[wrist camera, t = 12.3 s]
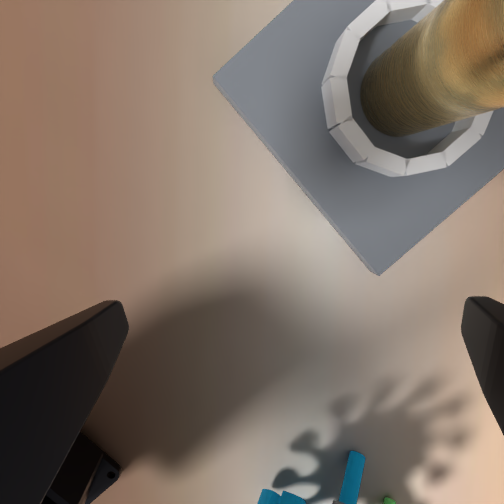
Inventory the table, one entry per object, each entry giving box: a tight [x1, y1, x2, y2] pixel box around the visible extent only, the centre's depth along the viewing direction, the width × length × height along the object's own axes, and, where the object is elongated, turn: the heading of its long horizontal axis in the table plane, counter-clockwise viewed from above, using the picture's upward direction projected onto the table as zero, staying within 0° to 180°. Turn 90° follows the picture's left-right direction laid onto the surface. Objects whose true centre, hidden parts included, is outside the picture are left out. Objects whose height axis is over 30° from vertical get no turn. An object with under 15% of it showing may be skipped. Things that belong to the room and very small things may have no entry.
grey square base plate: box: [213, 0, 504, 276], centre depth 18 cm, size 14×14×3 cm
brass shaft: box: [360, 0, 504, 137], centre depth 12 cm, size 4×4×13 cm
